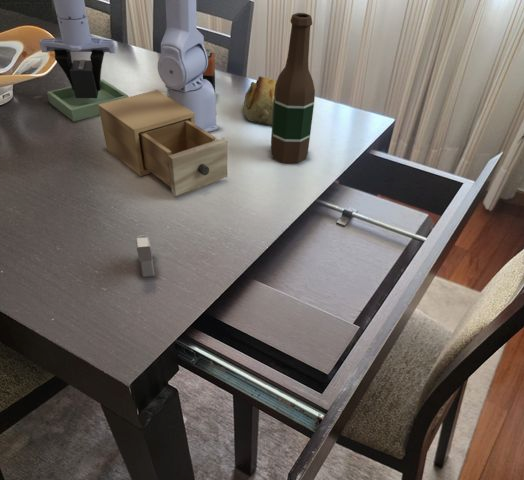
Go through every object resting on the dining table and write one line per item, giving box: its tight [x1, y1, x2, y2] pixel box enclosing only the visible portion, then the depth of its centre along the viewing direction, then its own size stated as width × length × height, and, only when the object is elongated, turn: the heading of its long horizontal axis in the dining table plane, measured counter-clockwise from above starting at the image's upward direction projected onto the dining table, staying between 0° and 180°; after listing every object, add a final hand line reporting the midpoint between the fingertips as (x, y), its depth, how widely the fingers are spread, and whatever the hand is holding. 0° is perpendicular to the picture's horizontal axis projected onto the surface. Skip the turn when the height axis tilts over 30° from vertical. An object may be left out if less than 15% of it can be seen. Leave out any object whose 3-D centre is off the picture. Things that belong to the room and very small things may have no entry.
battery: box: [203, 48, 216, 92], centre depth 111 cm, size 4×7×10 cm, turn 88°
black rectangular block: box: [70, 59, 99, 98], centre depth 105 cm, size 6×4×6 cm
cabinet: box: [98, 89, 195, 177], centre depth 92 cm, size 13×13×9 cm
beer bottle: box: [270, 12, 316, 164], centre depth 89 cm, size 8×8×24 cm
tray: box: [46, 79, 130, 123], centre depth 108 cm, size 14×12×2 cm
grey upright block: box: [135, 233, 155, 278], centre depth 68 cm, size 7×2×8 cm, turn 13°
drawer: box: [139, 119, 228, 197], centre depth 87 cm, size 13×11×7 cm
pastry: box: [241, 75, 277, 126], centre depth 107 cm, size 14×12×8 cm
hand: (86, 88), depth 106 cm, fingers closed on black rectangular block, 4 cm apart
